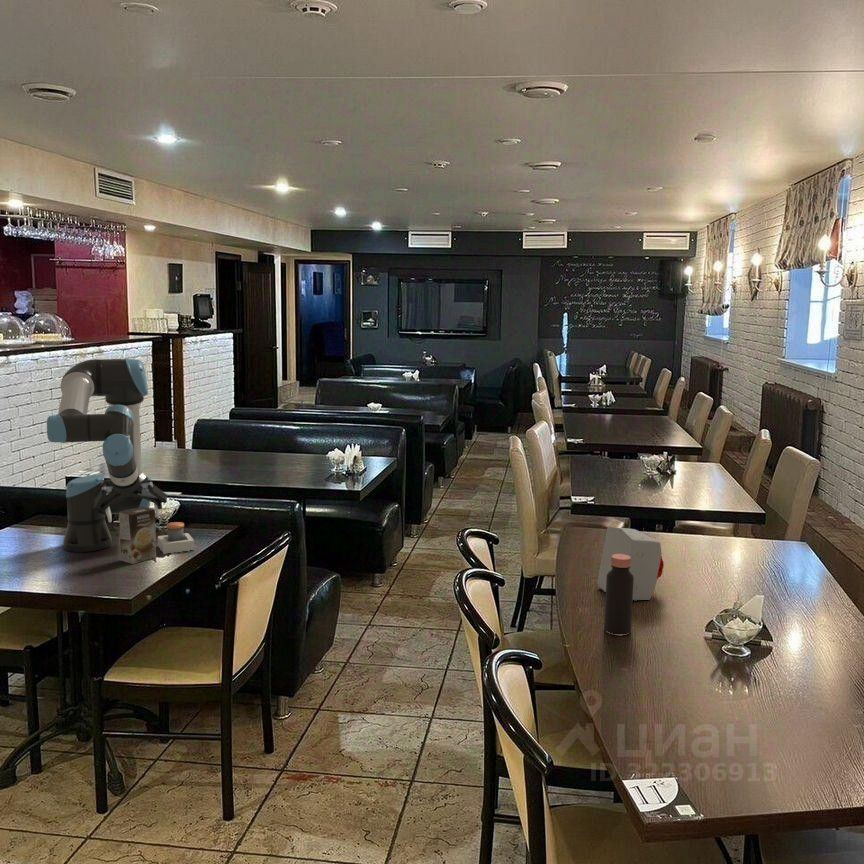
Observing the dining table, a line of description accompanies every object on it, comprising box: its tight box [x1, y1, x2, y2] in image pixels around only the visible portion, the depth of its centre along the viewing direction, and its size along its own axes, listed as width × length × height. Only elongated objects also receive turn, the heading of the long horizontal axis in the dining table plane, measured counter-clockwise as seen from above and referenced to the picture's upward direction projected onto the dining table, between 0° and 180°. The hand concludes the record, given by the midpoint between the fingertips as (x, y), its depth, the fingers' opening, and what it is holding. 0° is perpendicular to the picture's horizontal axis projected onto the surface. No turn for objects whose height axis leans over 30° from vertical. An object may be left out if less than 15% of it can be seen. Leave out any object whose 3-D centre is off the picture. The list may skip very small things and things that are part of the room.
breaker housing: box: [157, 532, 195, 555], centre depth 286 cm, size 10×10×4 cm
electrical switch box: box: [596, 526, 664, 602], centre depth 248 cm, size 15×15×20 cm
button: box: [166, 521, 185, 542], centre depth 285 cm, size 6×6×5 cm
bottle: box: [603, 554, 634, 634], centre depth 219 cm, size 7×7×20 cm
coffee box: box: [118, 507, 157, 565], centre depth 273 cm, size 9×6×16 cm
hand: (134, 516), depth 257 cm, fingers open, 13 cm apart
